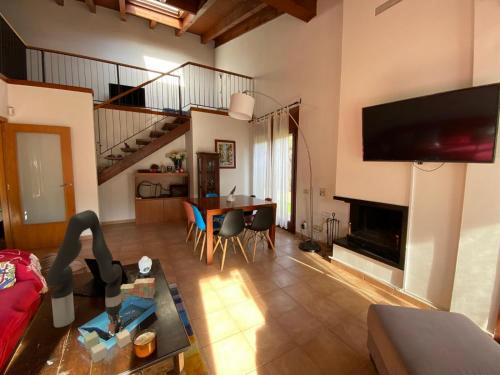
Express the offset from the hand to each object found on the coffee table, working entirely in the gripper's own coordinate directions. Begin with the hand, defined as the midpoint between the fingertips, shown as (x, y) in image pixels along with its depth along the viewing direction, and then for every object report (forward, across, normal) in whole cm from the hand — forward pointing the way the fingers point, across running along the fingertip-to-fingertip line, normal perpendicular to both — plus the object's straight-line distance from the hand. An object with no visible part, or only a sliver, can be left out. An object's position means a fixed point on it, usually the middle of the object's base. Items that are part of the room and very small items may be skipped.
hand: (115, 330), depth 122 cm
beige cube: (+1, +11, -11) cm, 16 cm away
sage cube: (+1, 0, -11) cm, 11 cm away
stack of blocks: (+1, -22, +22) cm, 32 cm away
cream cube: (+1, +11, 0) cm, 11 cm away
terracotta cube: (+1, 0, 0) cm, 1 cm away
